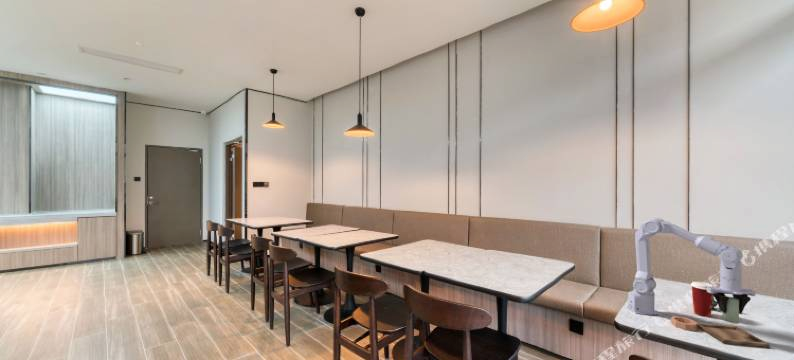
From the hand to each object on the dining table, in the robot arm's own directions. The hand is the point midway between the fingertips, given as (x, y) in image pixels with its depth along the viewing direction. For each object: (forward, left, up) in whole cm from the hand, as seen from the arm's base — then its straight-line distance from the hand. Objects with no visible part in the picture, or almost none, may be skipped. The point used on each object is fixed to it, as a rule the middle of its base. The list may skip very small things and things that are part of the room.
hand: (730, 312), depth 120 cm
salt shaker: (+12, +29, -10) cm, 33 cm away
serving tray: (0, 0, -10) cm, 10 cm away
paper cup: (+4, +21, -10) cm, 24 cm away
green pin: (0, 0, -3) cm, 3 cm away
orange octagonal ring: (-12, +6, -10) cm, 16 cm away
